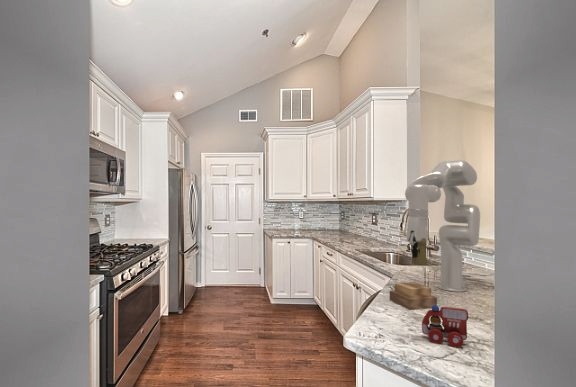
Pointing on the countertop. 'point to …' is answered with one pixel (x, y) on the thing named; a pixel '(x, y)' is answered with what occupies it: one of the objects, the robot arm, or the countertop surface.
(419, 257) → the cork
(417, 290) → the stepped wooden base
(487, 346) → the countertop surface
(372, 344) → the countertop surface
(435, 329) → the toy fire truck
